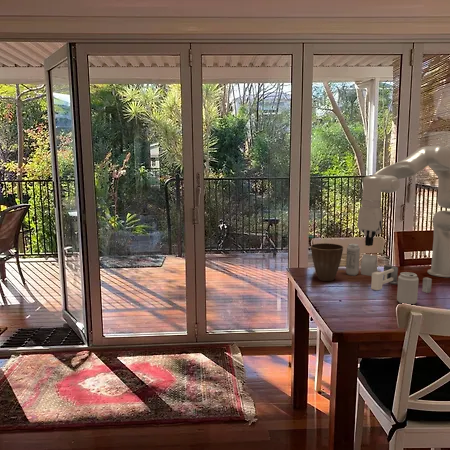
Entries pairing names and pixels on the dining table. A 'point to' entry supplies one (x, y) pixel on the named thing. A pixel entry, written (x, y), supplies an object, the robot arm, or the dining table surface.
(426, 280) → the post
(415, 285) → the can
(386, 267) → the hinge mount
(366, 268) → the tea bag
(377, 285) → the gate
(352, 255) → the energy drink can
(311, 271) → the dining table surface
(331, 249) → the plant pot
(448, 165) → the robot arm
